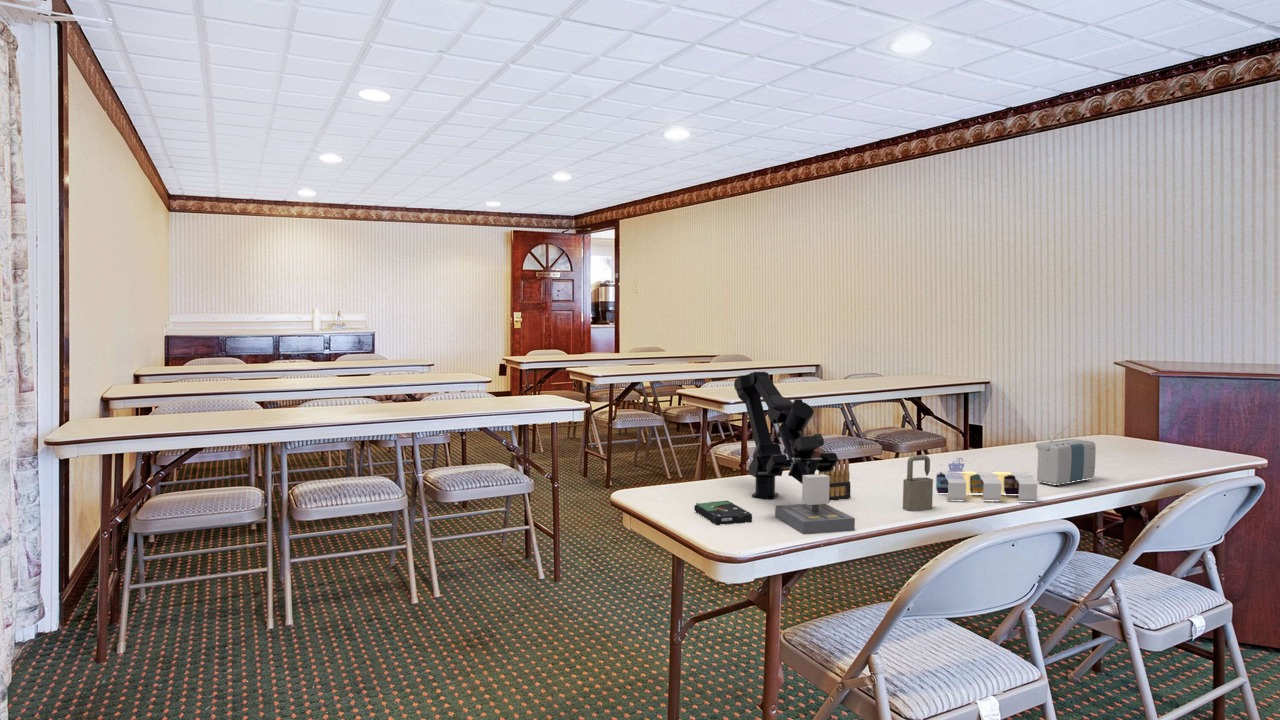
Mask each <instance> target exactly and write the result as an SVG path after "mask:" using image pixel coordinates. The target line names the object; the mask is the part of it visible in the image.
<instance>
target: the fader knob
mask: <svg viewBox="0 0 1280 720" xmlns="http://www.w3.org/2000/svg"><path fill="white" fill-rule="evenodd" d="M829 483H830V476H827V475H825V474H819V473H817V474H815V475H803V481H802V484H801V485H802V486H801V489H802V490H801V492H802V493H801V503H802V504H807V505H812V511H813V512H819V504H827V505H829V504H830V501H829Z"/></svg>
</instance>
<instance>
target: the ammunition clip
mask: <svg viewBox="0 0 1280 720" xmlns="http://www.w3.org/2000/svg"><path fill="white" fill-rule="evenodd" d="M843 459H844V458H841V459H840V462H839V461H838V462H837V463H836V465H835V466H834V468H833V469H832V471H830V472H819V471H818V474H825V475H827V476H830V483H829V502H831V501H830V500H834V501H840V500H839V499H845V500H850V499H851V498H852V497H851V481H850V463H849V459H848V458H847V457H846V459H845V462H844V460H843ZM849 498H850V499H849Z"/></svg>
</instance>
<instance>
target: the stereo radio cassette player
mask: <svg viewBox="0 0 1280 720" xmlns="http://www.w3.org/2000/svg"><path fill="white" fill-rule="evenodd" d="M1074 421H1076V419H1075V418H1073V420H1072V421H1071V422H1070V423H1068V424H1067V425H1066V426H1065V427H1064V428H1062V429H1061V430H1060V431H1059V432H1057V434H1056V435H1055V436H1054V437H1052V438H1051V440H1049V441H1044V442H1037V443H1036V444H1035V448H1036V450H1037V466H1036V467H1037V470H1036V471H1037V472H1036V480H1037V482H1038V481H1041V482H1046V483H1051V484H1056V485H1057V484H1062V483H1067V482H1072V481H1077V480H1082V479H1087V478H1092V477H1095V470H1096V452H1097V451H1096V447H1097V446H1096V443H1095V442H1094V441H1092V440H1083V439H1076V438H1069V439H1060V440H1055V439H1056V438H1057V437H1058V436H1059V435H1061V434H1062V433H1063V432H1064V431H1065V430H1066V429H1067V428H1068V427H1070V425H1071V424H1072V423H1073V422H1074ZM1092 479H1093V478H1092Z"/></svg>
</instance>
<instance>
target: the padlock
mask: <svg viewBox="0 0 1280 720" xmlns="http://www.w3.org/2000/svg"><path fill="white" fill-rule="evenodd" d="M915 461H917V462H918V461H924V468H923V469H924V473H925V476H926V477H914V476H913V474H914V462H915ZM906 467H907V468H906V470H907V471H906V478H904V479H903V482H902V483H903V487H902V491H903V492H902V509H903V510H905V509H906V510H905V511H909V512H912V511H913V512H914V511H915V512H916V511H917V512H918V510H920V511H928V510H930V508H931V509H933V491H934V490H933V489H934V479H933V478H930V477H928V476H929V473H930V471H931V458H930V457H929V456H928V455H927V454H918V455H917V454H916V455H911V456H909V458H907V464H906ZM927 509H928V510H927Z"/></svg>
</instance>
